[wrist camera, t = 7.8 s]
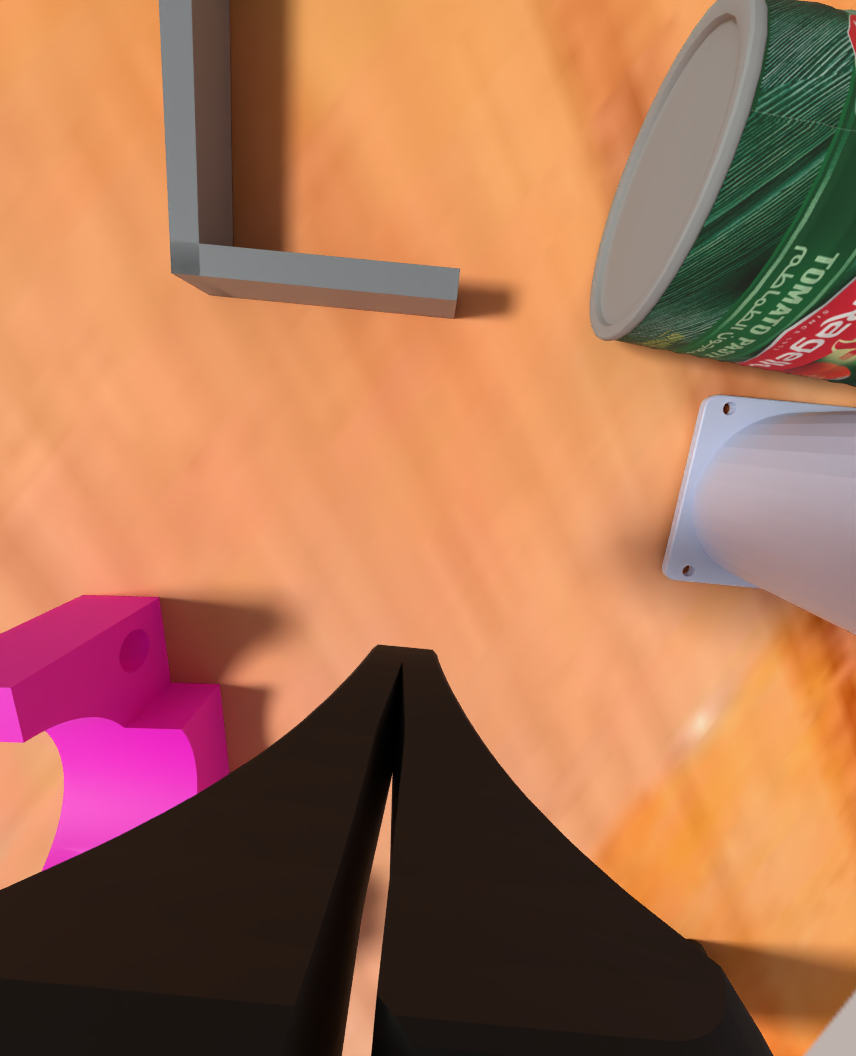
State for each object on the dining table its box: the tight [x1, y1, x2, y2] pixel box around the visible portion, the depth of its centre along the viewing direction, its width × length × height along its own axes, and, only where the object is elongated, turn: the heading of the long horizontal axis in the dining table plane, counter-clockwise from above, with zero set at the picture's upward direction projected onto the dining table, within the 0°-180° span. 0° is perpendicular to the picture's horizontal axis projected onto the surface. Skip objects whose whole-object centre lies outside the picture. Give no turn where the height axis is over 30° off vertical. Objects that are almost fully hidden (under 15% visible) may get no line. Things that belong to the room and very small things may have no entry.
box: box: [159, 0, 460, 319], centre depth 14 cm, size 10×14×2 cm
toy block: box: [0, 595, 229, 871], centre depth 19 cm, size 15×6×8 cm, turn 179°
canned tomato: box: [590, 0, 856, 387], centre depth 13 cm, size 8×8×11 cm
